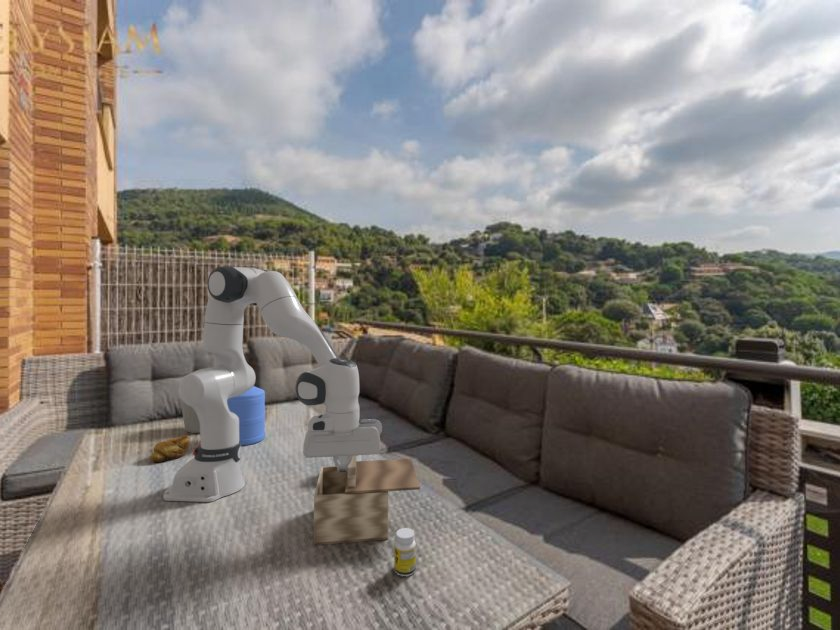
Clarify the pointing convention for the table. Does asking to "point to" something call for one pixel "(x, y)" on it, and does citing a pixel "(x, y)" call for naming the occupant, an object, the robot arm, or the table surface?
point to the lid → (380, 476)
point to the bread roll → (170, 449)
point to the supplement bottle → (405, 552)
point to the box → (347, 511)
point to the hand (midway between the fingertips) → (342, 471)
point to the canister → (190, 418)
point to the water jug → (249, 415)
